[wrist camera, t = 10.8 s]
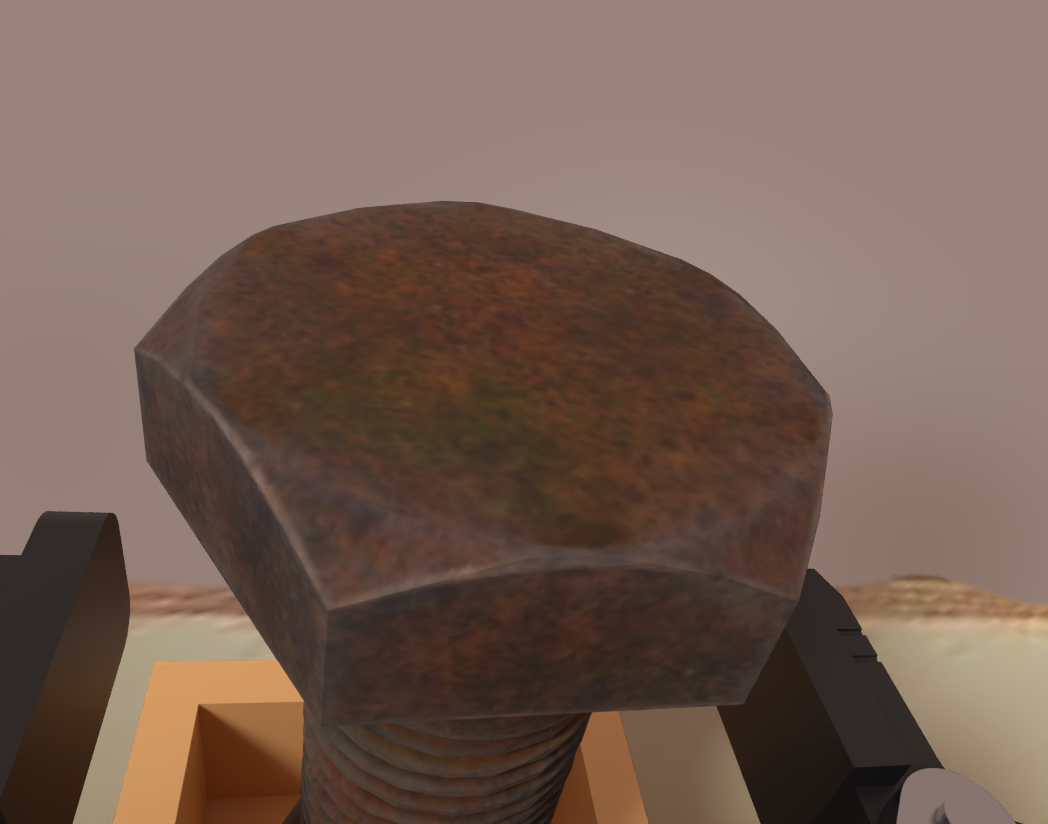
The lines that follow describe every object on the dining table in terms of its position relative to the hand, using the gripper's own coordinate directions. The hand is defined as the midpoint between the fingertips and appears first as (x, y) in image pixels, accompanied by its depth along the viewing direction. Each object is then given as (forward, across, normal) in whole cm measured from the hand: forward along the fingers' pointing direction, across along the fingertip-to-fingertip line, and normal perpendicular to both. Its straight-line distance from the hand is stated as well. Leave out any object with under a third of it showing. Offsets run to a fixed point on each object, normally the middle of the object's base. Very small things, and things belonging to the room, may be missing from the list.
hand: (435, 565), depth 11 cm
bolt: (-2, 0, +10) cm, 10 cm away
